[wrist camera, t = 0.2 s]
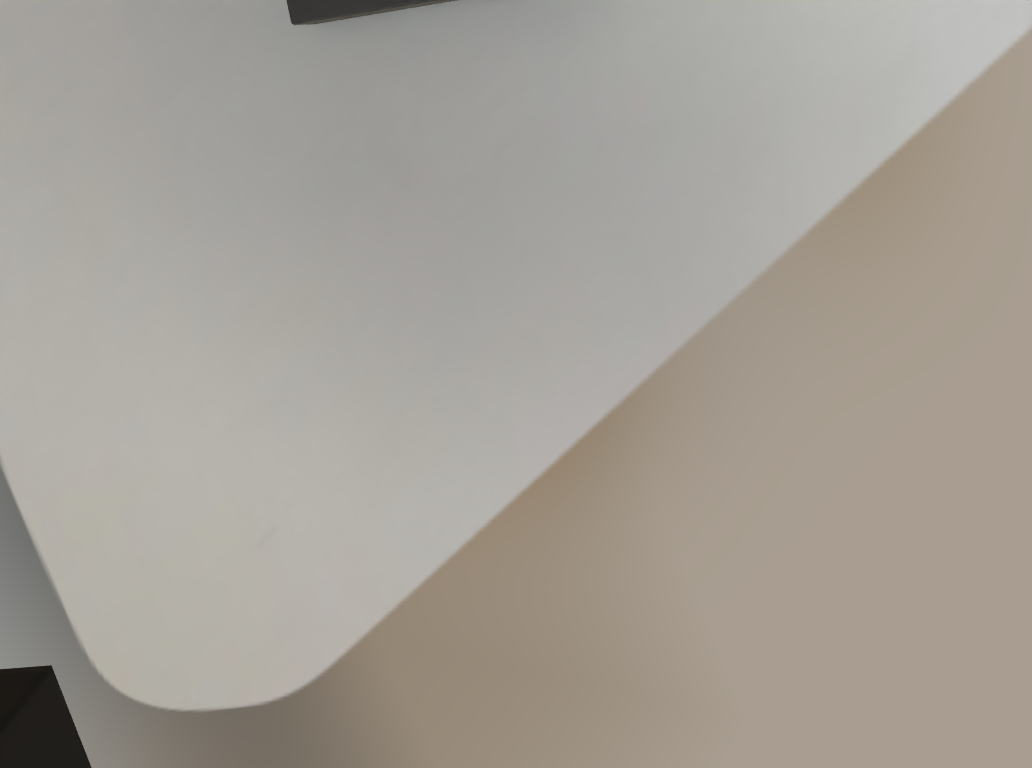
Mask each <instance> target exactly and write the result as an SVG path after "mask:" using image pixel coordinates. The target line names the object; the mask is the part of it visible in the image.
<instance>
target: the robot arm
mask: <svg viewBox="0 0 1032 768" xmlns="http://www.w3.org/2000/svg"><path fill="white" fill-rule="evenodd" d="M0 768H91V766H90V763H89V760H88V758H87V755H86V753H85V750H84V748H83V745H82V742H81V740H80V737H79V735H78V732H77V730H76V727H75V724H74V722H73V719H72V717H71V714H70V712H69V709H68V707H67V704H66V702H65V699H64V696H63V694H62V691H61V689H60V686H59V684H58V681H57V679H56V676H55V673H54V671H53V668H52V666H38V667H25V668H12V669H0Z"/></svg>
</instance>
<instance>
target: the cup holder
mask: <svg viewBox="0 0 1032 768" xmlns="http://www.w3.org/2000/svg"><path fill="white" fill-rule="evenodd" d="M449 1H455V0H287V5H288V9H289V14H290V18H291V23H292V24H293V25H301V24H318V23H324V22H330V21H336V20H342V19H348V18H354V17H360V16H366V15H372V14H377V13H383V12H389V11H395V10H401V9H407V8H413V7H419V6H425V5H431V4H437V3H443V2H449Z"/></svg>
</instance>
